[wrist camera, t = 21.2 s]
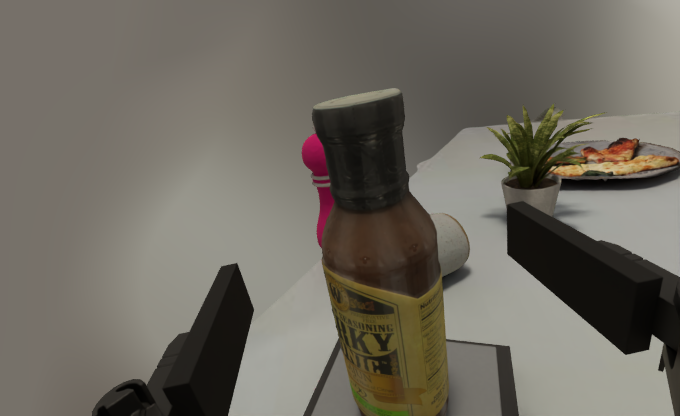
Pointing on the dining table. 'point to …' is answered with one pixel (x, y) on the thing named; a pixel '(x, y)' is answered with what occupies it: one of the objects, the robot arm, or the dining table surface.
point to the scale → (463, 373)
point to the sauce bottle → (381, 261)
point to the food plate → (615, 160)
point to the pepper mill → (318, 179)
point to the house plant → (535, 160)
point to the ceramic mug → (450, 243)
